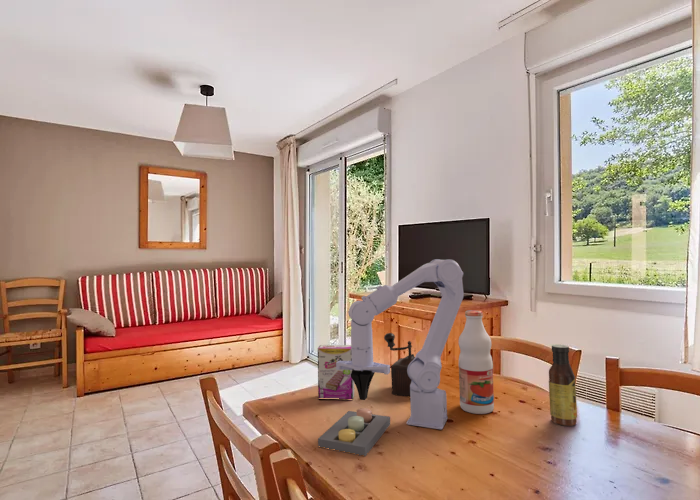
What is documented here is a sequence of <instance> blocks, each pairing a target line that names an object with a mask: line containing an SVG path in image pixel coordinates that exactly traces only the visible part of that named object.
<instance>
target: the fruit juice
mask: <svg viewBox="0 0 700 500" xmlns="http://www.w3.org/2000/svg"><path fill="white" fill-rule="evenodd" d="M464 317H465V318H466V319H465V320H466V321H465V324H464V328H463V330H462V332H461V334H460V335H459V337H458V346H459V351H460V352H459V356H458V377H459V378H458V379H459V381H458V383H459V387H458V388H459V405H460V408H461V409H462V410H463V411H465V412H466V413H470V414H475V415H486V414H490V413H492V412H493V411H494V409H495V401H494V400H495V398H494V397H495V396H494V395H495V394H494V364H493V363H494V362H493V357H492V355H491V349H492V338H491V337H490V335H489V334H488V332H487V331H486V328H485V326H484V323H483V318H484V313H483V311H482V310H477V309H475V310H474V309H473V310H472V309H471V310H466V311H465V313H464Z"/></svg>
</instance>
